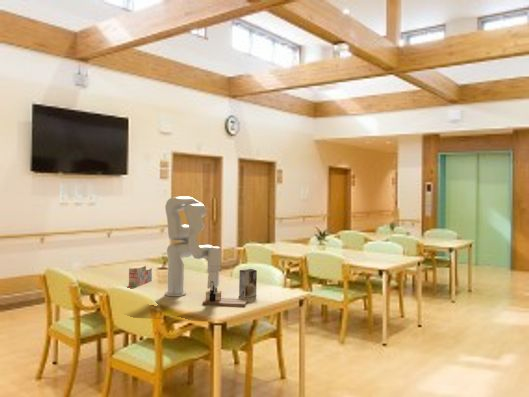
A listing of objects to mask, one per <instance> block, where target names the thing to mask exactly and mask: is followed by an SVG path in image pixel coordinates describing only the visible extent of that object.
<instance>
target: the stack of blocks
mask: <svg viewBox="0 0 529 397" xmlns="http://www.w3.org/2000/svg"><path fill="white" fill-rule="evenodd" d="M152 272H153V271H152V267H147V265H141V264H140V265H139V264H138V265H135V266H132V267H130V268H128V287H132V288H133V287H134V288H138V287H139V288H140V287H142V286H143V285H145V284H148V283H150V282H152V279H153V277H152V275H153V273H152Z"/></svg>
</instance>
